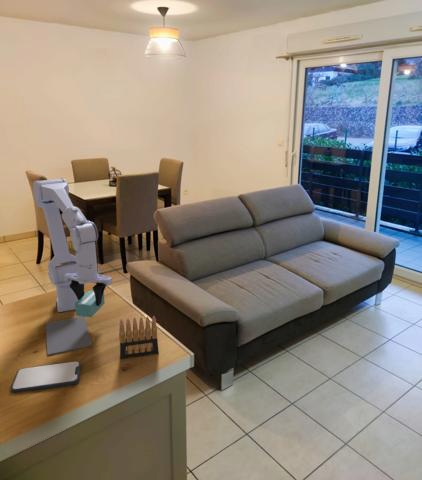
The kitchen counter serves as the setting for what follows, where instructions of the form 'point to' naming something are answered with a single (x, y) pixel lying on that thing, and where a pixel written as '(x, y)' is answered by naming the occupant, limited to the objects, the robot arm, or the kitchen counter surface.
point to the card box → (88, 305)
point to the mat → (67, 335)
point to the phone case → (46, 377)
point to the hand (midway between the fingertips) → (90, 303)
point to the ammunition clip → (138, 339)
